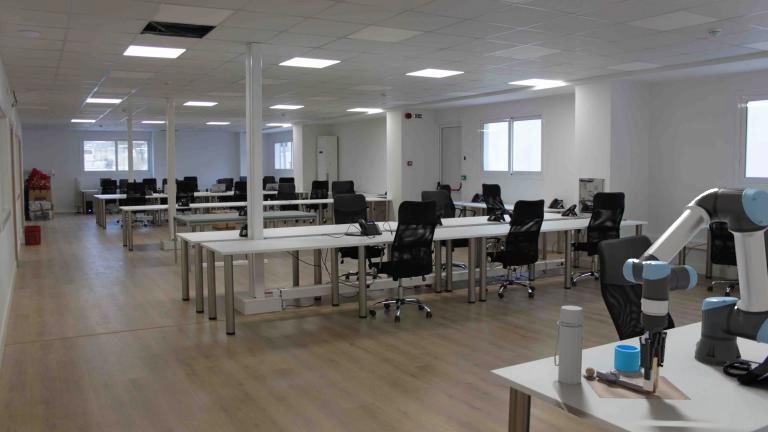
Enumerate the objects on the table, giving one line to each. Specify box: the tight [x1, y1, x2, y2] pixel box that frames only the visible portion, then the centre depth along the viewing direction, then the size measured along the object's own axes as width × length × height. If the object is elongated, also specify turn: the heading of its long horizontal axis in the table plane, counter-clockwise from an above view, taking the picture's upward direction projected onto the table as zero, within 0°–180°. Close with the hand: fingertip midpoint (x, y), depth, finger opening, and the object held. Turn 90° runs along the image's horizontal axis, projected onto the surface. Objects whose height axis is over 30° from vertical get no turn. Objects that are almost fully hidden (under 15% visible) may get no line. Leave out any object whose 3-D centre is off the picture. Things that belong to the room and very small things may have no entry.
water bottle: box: [553, 305, 584, 385], centre depth 207 cm, size 9×8×25 cm
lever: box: [595, 356, 657, 394], centre depth 201 cm, size 20×4×11 cm, turn 38°
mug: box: [613, 344, 640, 372], centre depth 221 cm, size 12×8×8 cm
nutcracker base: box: [581, 366, 691, 401], centre depth 202 cm, size 27×21×4 cm
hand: (650, 388), depth 195 cm, fingers open, 3 cm apart
